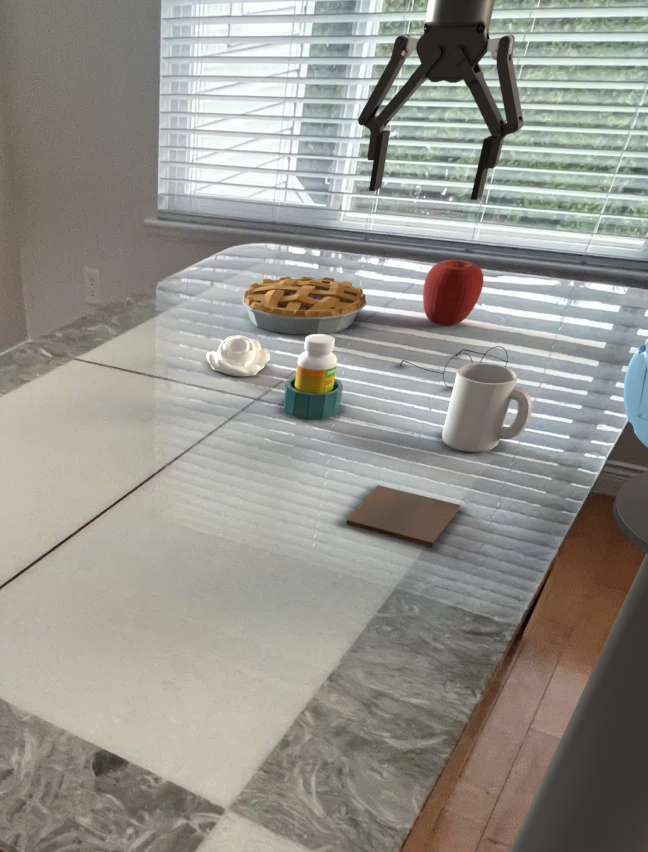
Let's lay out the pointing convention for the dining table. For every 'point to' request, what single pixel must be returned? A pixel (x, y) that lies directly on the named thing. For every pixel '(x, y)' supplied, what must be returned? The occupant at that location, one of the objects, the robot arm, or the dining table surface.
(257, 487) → the dining table surface
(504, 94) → the robot arm
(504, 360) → the eyeglasses
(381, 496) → the coaster
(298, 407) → the teal bowl
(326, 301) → the pie
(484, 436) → the cup
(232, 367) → the rose
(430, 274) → the apple
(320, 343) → the supplement bottle
